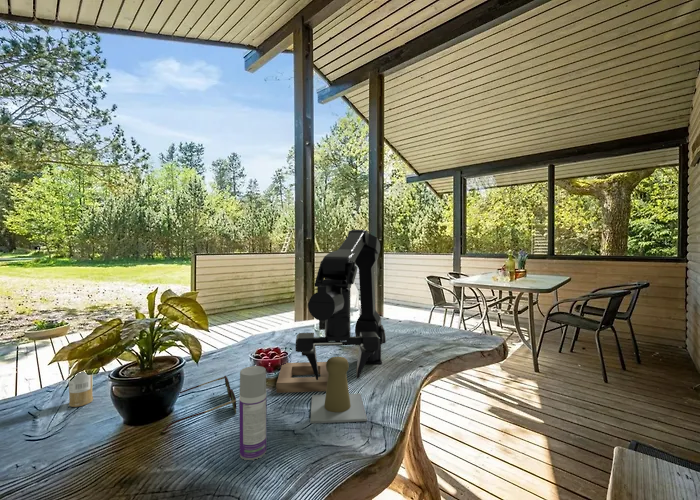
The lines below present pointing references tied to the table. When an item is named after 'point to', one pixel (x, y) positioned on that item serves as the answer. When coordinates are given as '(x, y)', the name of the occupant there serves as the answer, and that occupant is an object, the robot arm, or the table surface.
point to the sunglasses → (233, 401)
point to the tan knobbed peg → (337, 385)
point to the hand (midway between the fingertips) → (337, 378)
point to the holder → (304, 383)
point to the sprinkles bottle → (80, 389)
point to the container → (253, 412)
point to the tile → (325, 416)
